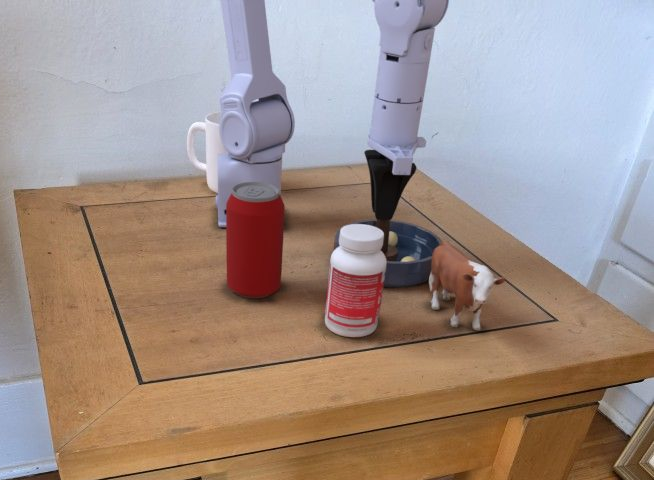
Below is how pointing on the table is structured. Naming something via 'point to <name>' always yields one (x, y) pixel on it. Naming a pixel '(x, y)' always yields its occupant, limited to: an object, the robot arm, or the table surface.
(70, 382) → the table surface
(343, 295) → the pill bottle
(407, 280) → the bowl
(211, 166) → the cup
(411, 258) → the bead
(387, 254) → the brown peg stand
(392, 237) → the bead
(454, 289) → the bull figurine
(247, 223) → the beverage can
